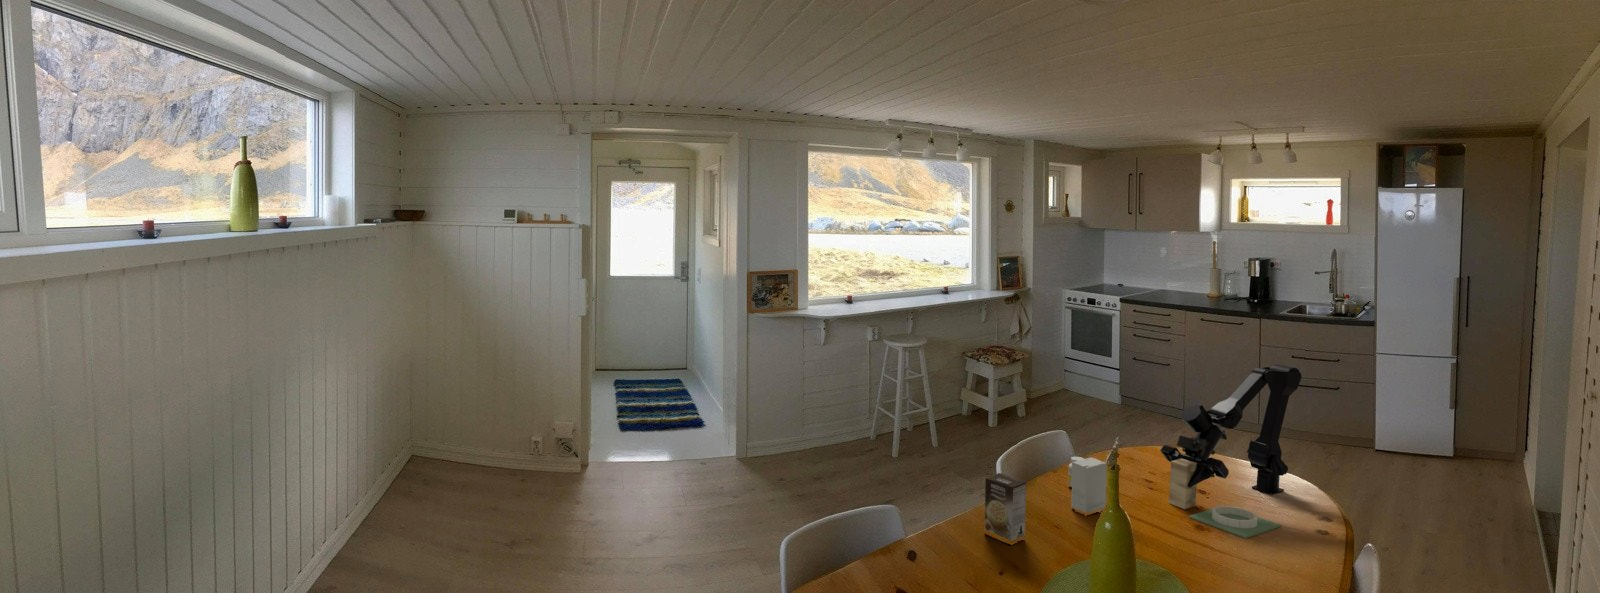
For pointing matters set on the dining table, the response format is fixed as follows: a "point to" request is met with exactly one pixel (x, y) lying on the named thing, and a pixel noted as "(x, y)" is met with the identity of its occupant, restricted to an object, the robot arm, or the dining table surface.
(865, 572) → the dining table surface
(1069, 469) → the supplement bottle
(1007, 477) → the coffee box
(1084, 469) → the skincare box
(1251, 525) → the putting green
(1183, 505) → the oak block
